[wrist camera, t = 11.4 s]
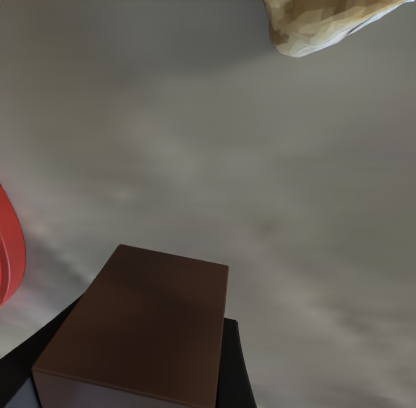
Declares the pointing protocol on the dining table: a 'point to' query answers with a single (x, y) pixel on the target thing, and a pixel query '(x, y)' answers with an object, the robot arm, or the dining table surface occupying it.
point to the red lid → (10, 250)
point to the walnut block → (139, 336)
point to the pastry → (320, 21)
